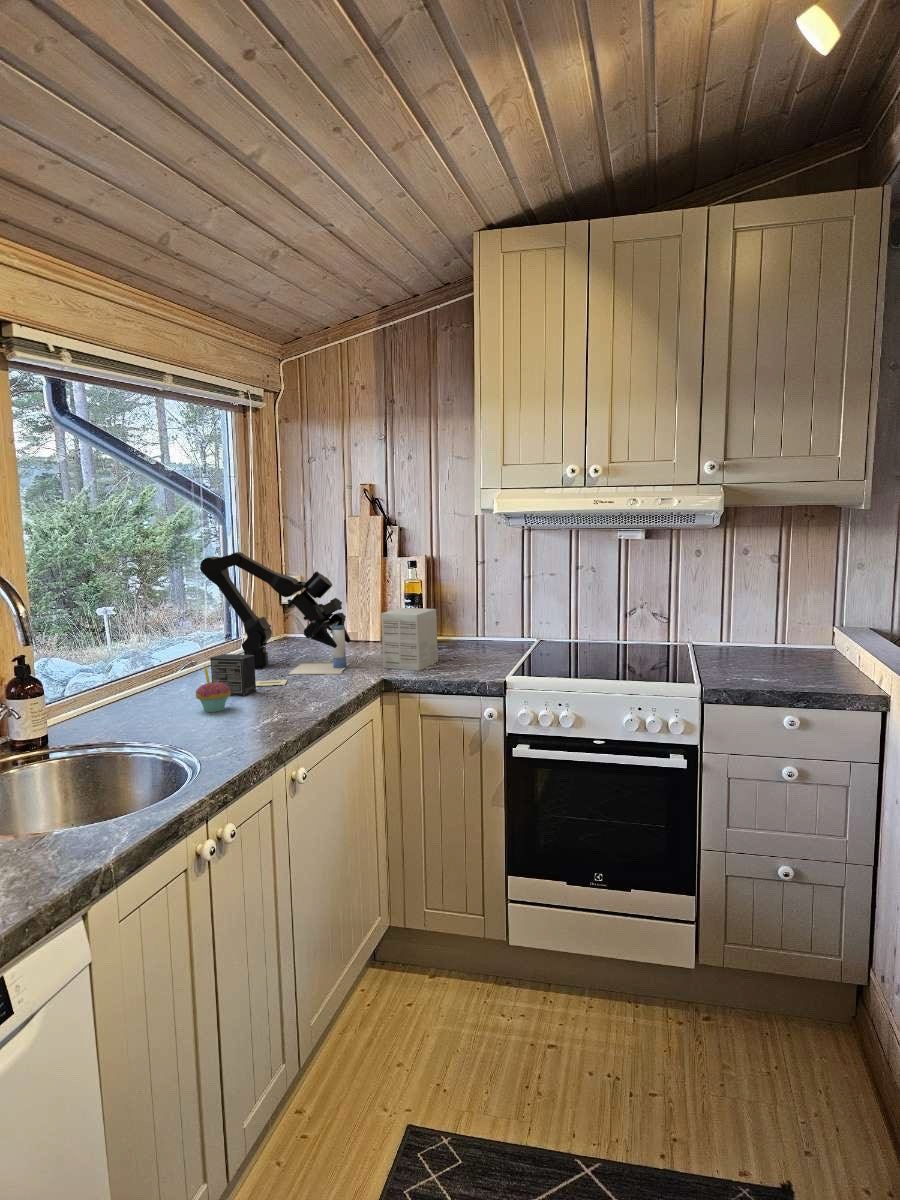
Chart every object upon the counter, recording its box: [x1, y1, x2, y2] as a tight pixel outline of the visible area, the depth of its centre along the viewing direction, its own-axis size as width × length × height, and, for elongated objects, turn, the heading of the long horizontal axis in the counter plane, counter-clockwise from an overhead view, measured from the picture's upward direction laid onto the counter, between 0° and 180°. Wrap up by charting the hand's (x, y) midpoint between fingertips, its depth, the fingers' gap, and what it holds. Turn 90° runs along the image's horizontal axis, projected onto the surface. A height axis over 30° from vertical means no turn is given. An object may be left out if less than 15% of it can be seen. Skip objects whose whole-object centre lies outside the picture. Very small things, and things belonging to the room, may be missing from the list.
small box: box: [209, 653, 257, 697], centre depth 216 cm, size 11×6×10 cm, turn 71°
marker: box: [331, 624, 348, 668], centre depth 245 cm, size 4×4×13 cm
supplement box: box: [380, 607, 439, 672], centre depth 246 cm, size 13×13×18 cm
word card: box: [255, 679, 288, 687], centre depth 226 cm, size 9×6×1 cm, turn 96°
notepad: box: [288, 661, 352, 675], centre depth 245 cm, size 16×16×1 cm
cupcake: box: [195, 664, 232, 713], centre depth 198 cm, size 9×8×12 cm
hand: (343, 644), depth 244 cm, fingers open, 9 cm apart
